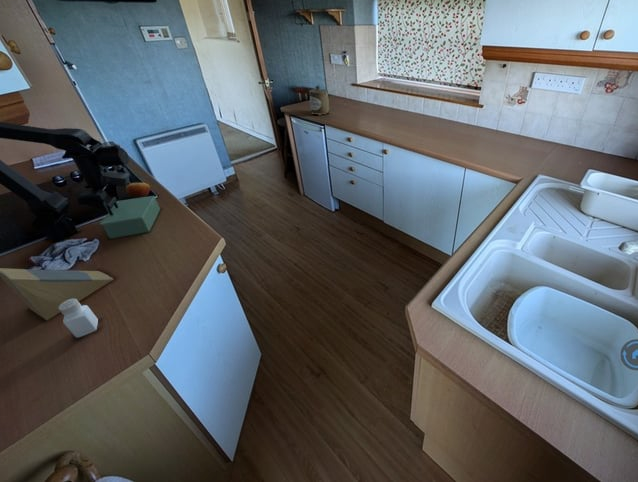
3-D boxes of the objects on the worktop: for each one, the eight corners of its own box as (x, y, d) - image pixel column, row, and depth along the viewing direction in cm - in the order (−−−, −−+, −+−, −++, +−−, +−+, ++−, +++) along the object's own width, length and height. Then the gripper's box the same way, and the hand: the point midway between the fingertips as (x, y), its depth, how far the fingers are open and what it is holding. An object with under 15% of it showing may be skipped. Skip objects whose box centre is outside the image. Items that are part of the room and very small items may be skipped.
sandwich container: (115, 279, 86) (89, 240, 79) (47, 321, 74) (9, 279, 67) (98, 270, 89) (72, 231, 82) (30, 309, 77) (-8, 268, 70)
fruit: (122, 202, 120) (120, 182, 119) (134, 201, 127) (131, 183, 127) (145, 199, 121) (142, 180, 121) (155, 199, 129) (153, 181, 129)
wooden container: (307, 113, 241) (304, 85, 230) (322, 109, 251) (319, 83, 240) (319, 116, 233) (316, 88, 222) (333, 113, 243) (331, 85, 231)
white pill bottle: (97, 331, 72) (77, 305, 67) (76, 339, 70) (53, 314, 65) (99, 319, 75) (80, 294, 70) (78, 327, 73) (57, 302, 68)
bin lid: (100, 225, 99) (92, 213, 96) (117, 202, 111) (111, 191, 109) (142, 218, 103) (136, 206, 100) (154, 196, 115) (149, 185, 113)
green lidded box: (110, 238, 102) (102, 225, 99) (125, 214, 115) (119, 202, 112) (149, 231, 106) (142, 218, 103) (160, 209, 118) (154, 197, 115)
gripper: (109, 176, 92) (130, 217, 100) (129, 154, 107) (146, 191, 115) (64, 182, 88) (89, 223, 96) (91, 158, 103) (111, 195, 111)
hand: (112, 207), depth 105 cm, fingers open, 9 cm apart
